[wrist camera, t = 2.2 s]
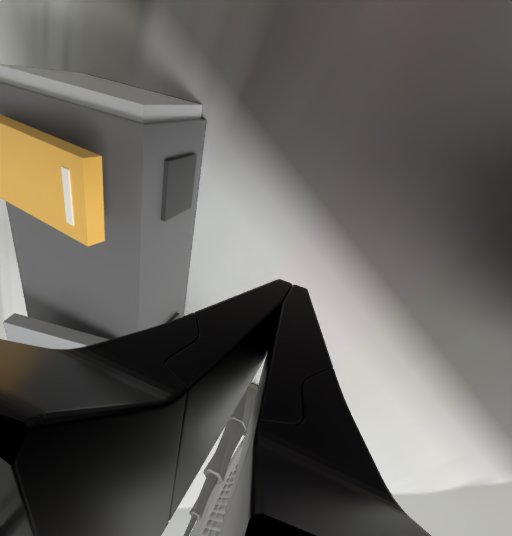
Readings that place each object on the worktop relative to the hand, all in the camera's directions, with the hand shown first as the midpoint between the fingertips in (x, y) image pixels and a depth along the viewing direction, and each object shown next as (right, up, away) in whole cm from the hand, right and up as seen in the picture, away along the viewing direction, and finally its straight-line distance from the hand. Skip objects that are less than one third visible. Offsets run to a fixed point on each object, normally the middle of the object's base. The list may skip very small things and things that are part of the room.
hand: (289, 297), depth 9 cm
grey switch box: (-11, +3, +18) cm, 21 cm away
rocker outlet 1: (-12, +6, +8) cm, 16 cm away
